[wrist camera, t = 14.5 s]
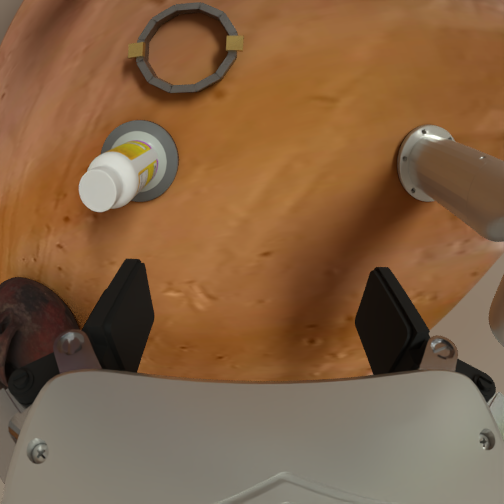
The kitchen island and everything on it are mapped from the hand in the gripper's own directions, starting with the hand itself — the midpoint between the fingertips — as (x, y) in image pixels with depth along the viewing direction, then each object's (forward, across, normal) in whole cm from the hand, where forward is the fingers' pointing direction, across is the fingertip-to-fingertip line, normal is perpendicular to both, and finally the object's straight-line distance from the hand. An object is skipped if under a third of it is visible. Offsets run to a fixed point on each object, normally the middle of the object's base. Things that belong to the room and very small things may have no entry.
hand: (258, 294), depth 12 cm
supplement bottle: (+29, +16, +1) cm, 33 cm away
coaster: (+30, +16, +1) cm, 34 cm away
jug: (+31, +44, +32) cm, 62 cm away
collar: (+30, +9, -15) cm, 35 cm away
